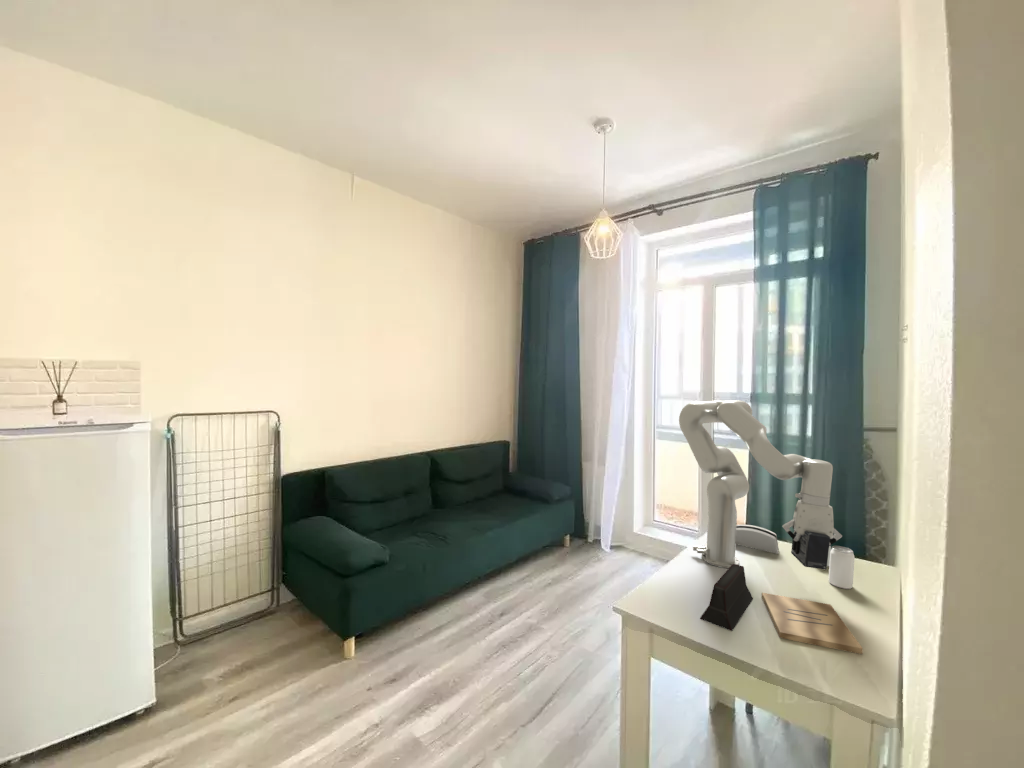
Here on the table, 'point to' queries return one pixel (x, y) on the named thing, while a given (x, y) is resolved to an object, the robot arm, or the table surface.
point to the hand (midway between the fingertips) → (809, 554)
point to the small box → (813, 550)
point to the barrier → (728, 599)
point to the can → (841, 567)
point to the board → (810, 623)
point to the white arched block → (757, 538)
